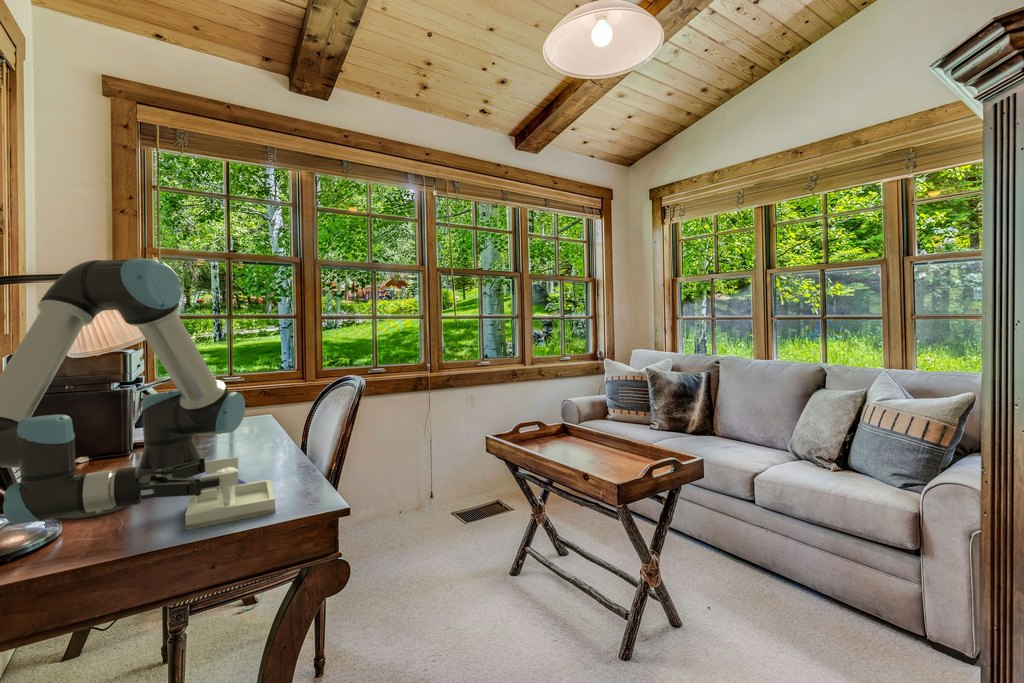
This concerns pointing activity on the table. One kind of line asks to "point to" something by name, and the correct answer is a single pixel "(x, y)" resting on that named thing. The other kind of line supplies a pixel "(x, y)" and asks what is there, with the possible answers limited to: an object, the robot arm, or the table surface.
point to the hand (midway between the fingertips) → (238, 469)
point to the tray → (249, 504)
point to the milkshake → (226, 490)
